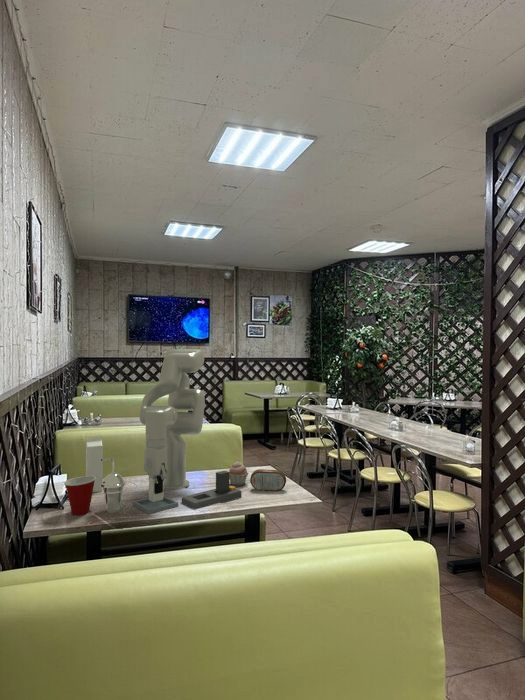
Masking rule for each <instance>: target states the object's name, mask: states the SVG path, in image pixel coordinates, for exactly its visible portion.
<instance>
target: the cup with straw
mask: <svg viewBox="0 0 525 700" xmlns="http://www.w3.org/2000/svg"><path fill="white" fill-rule="evenodd" d="M101 461H103V462H107V461H109V462H110V461H112V462H111V464H112V465H111V467H112V468H111V469H112V470H111V473H108V474H107V475H106V476H105V477H104V478H103V480H102V483H101V487H102V492H103V493H104V503H105V510H106V512H108V513H117V512H119V511H120V508H121V504H122V503H121V502H122V496H123V495H122V493H123V489H124V486H125V485H127V484H126V481H125V479H124V478H123V476H122V475H121V473H118V472H115V459H114V458H103V459H101Z"/></svg>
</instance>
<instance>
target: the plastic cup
mask: <svg viewBox="0 0 525 700" xmlns="http://www.w3.org/2000/svg"><path fill="white" fill-rule="evenodd" d="M95 479H96V477H94V476H86V475H85V476H78V477H73V478H69V479H67V480H65V481H63V485H64V486H65V488H66V492H67V497H68V502H69V507H70V512H71V514H72V515H74V516H83V515H86V514H89V512H90V509H91V503H92V498H93V493H94V492H93V487H94V482H95Z"/></svg>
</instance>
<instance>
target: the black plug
mask: <svg viewBox="0 0 525 700" xmlns="http://www.w3.org/2000/svg"><path fill="white" fill-rule="evenodd" d="M229 486H230V479H229V470H221V471H218V472H217V471H216V472H215V489H216V493H218V494H223V493H227V492H229Z"/></svg>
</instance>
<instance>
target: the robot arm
mask: <svg viewBox="0 0 525 700" xmlns="http://www.w3.org/2000/svg"><path fill="white" fill-rule="evenodd" d="M204 363H205V355H204V352H203V351H202V349H196V348H195V349H191V348H188V349H187V348H186V349H185V348H178V349H177V348H176V349H170V350H168V351H166V353H165V356H164V358H163V362H162V366H161V371H160V375H159V378H158V382H157V383H156V384H155V385H153V386H152V387H151V388H149V390H148V391H147V392H146V393H145V395H144V396H143V399H142V401H141V405H140V409H139V421H140V423H141V424H142V425H145V447H144V455H143V471H144V472H145V473H146V474H148V476H149V474H151V475H153V476H155V482H156V483H154V488H155V494H159V493H162V492H163V493H164V489H165V490H179V489H180V490H181V489H186V488H188V487H190V481H189V480H187V478H186V477H187V476H186V475H187V470H186V469H187V467H186V465H187V458H186V457H187V456H186V455H187V452H186V451H187V445H186V441H185V440H184V438H183V437H182V436H183V435H187V436H189V435H190V436H191V435H192V436H193V435H198V434H200V433H201V432H202V431H203V430H202V429H203V423H204V422H203V421H204V414H205V402H206V399H205V394H204V391H203V390H202V389H199V388H190V385H191V379H190V376H189V375H188V374H192V373H194V374H195V373H196V372H198V371H199V370H200V369H201V368H202V367H203V366H204ZM167 395H168V397H167V398H168V399H167V404H168V405H153V404H154V403H155V402H156V401H157V400H158V399H160V398H163V397H165V396H167ZM186 411H187V412H186ZM160 472H161V474H160ZM158 476H161V477H159V478H158ZM163 482H164V487H163Z"/></svg>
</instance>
